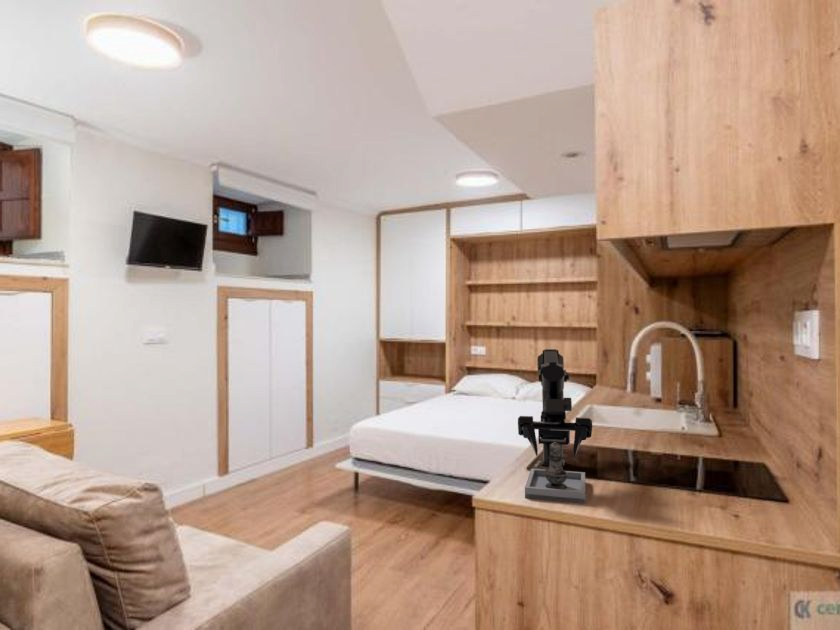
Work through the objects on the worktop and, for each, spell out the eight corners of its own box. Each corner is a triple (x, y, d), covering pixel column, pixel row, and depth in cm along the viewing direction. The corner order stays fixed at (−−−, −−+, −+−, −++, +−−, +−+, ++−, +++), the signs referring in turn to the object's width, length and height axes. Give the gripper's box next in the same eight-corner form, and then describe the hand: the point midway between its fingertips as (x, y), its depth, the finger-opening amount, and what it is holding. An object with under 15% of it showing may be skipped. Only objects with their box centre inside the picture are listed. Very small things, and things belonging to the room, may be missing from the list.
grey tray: (531, 477, 139) (531, 468, 139) (585, 481, 135) (584, 472, 135) (525, 497, 124) (524, 487, 124) (585, 503, 119) (585, 492, 119)
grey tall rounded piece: (543, 482, 132) (542, 436, 132) (567, 483, 131) (566, 436, 131) (544, 490, 126) (543, 441, 126) (569, 491, 125) (568, 442, 125)
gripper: (517, 385, 135) (516, 437, 125) (591, 386, 131) (596, 440, 120) (518, 409, 143) (518, 460, 132) (588, 411, 139) (593, 463, 128)
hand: (555, 455), depth 128 cm, fingers open, 9 cm apart
